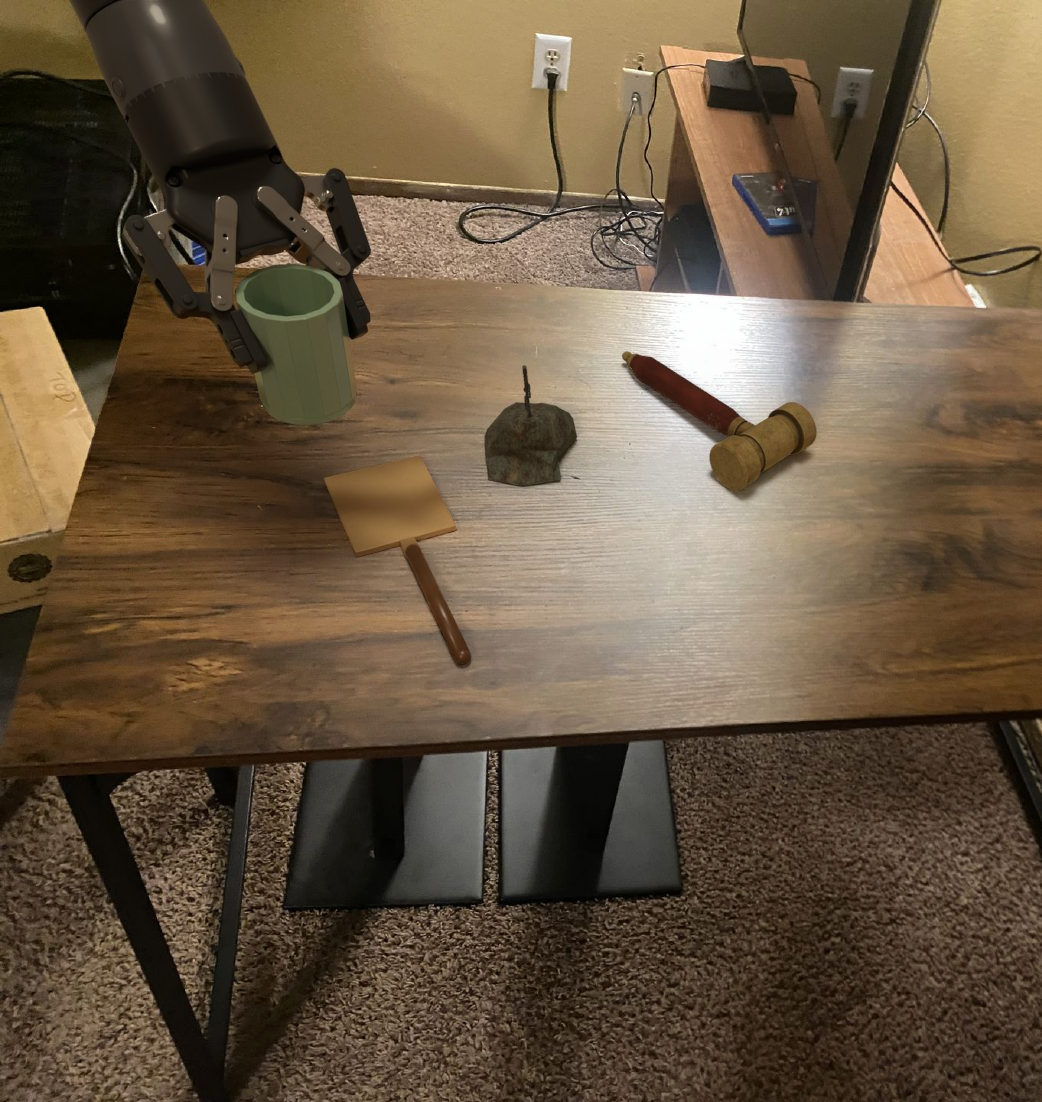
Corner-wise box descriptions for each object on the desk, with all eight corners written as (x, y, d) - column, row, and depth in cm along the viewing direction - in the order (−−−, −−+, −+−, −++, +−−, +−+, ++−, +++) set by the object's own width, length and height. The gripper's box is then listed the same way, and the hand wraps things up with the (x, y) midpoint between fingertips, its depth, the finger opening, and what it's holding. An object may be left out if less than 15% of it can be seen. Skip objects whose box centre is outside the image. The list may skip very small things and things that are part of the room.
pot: (248, 419, 66) (221, 312, 60) (276, 363, 70) (253, 257, 64) (344, 430, 67) (327, 326, 61) (366, 374, 71) (352, 271, 65)
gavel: (585, 352, 94) (661, 317, 100) (585, 391, 97) (658, 356, 103) (749, 460, 85) (821, 415, 91) (742, 500, 88) (813, 454, 94)
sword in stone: (497, 405, 92) (495, 294, 83) (582, 420, 92) (589, 310, 84) (469, 478, 85) (464, 365, 76) (561, 493, 85) (566, 382, 77)
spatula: (324, 482, 82) (322, 472, 81) (420, 459, 85) (419, 449, 84) (410, 685, 70) (409, 675, 69) (518, 649, 74) (518, 639, 73)
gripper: (284, 99, 68) (393, 331, 72) (54, 141, 60) (190, 400, 64) (311, 49, 62) (428, 306, 66) (59, 89, 54) (210, 379, 58)
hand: (310, 351), depth 65 cm, fingers closed on pot, 6 cm apart
